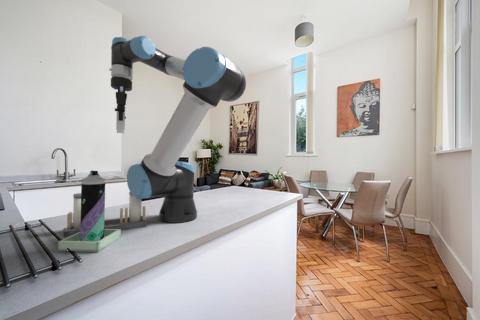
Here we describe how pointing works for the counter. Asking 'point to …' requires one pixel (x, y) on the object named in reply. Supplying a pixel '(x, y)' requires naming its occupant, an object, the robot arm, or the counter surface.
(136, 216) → the fuse
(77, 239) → the tray
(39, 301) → the counter surface
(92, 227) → the spray can
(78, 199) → the fuse
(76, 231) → the fuse frame
